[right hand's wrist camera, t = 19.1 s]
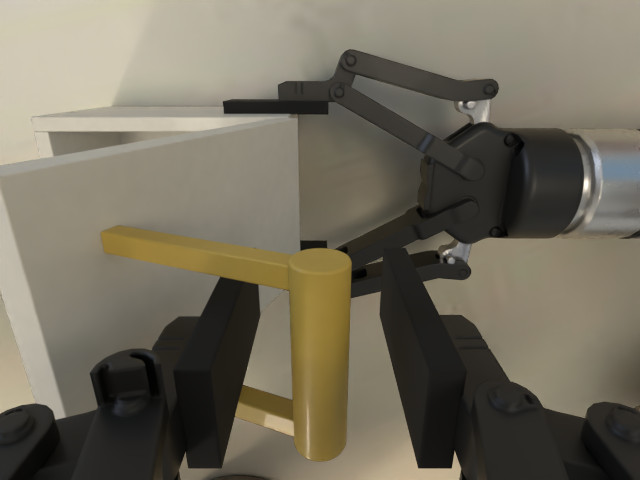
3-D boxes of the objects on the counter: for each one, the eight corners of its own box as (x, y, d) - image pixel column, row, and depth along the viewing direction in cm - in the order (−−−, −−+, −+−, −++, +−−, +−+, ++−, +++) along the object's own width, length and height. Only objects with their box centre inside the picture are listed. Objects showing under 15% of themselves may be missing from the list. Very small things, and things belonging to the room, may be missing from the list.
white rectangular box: (55, 468, 13) (307, 590, 10) (-39, 172, 10) (301, 216, 7) (283, 270, 27) (420, 296, 24) (277, 117, 23) (437, 123, 20)
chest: (130, 220, 36) (67, 267, 27) (110, 106, 33) (29, 116, 24) (299, 220, 36) (292, 267, 27) (297, 106, 33) (288, 116, 24)
